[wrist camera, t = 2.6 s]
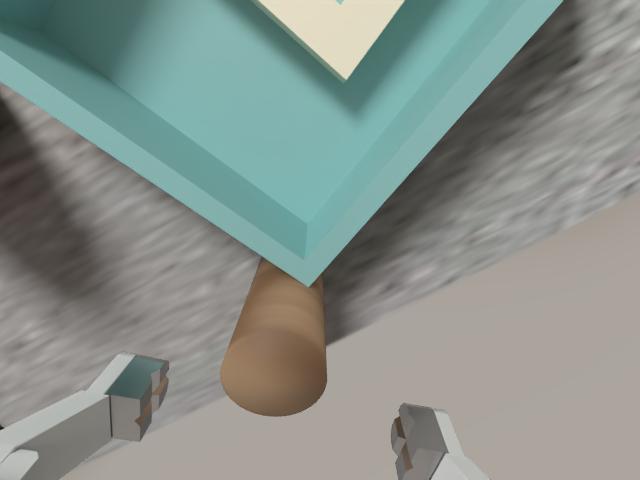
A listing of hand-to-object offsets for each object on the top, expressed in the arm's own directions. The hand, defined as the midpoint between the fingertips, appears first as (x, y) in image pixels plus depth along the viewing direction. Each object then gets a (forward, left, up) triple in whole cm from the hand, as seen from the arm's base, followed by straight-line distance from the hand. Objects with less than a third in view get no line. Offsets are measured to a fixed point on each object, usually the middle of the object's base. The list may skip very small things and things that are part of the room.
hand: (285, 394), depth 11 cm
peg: (-1, 0, -11) cm, 11 cm away
